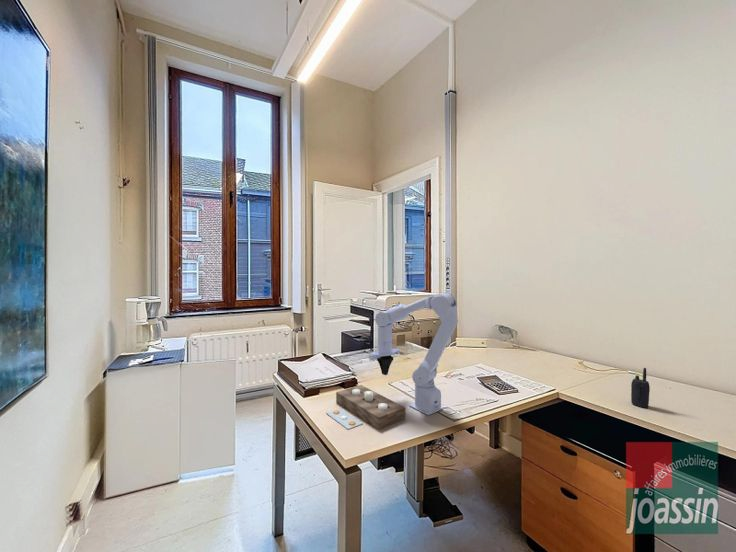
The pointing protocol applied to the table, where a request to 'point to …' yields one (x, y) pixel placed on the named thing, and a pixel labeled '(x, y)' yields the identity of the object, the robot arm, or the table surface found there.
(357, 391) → the button
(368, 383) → the table surface
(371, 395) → the middle button
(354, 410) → the button box
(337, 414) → the pattern card
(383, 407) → the button
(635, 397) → the two-way radio
